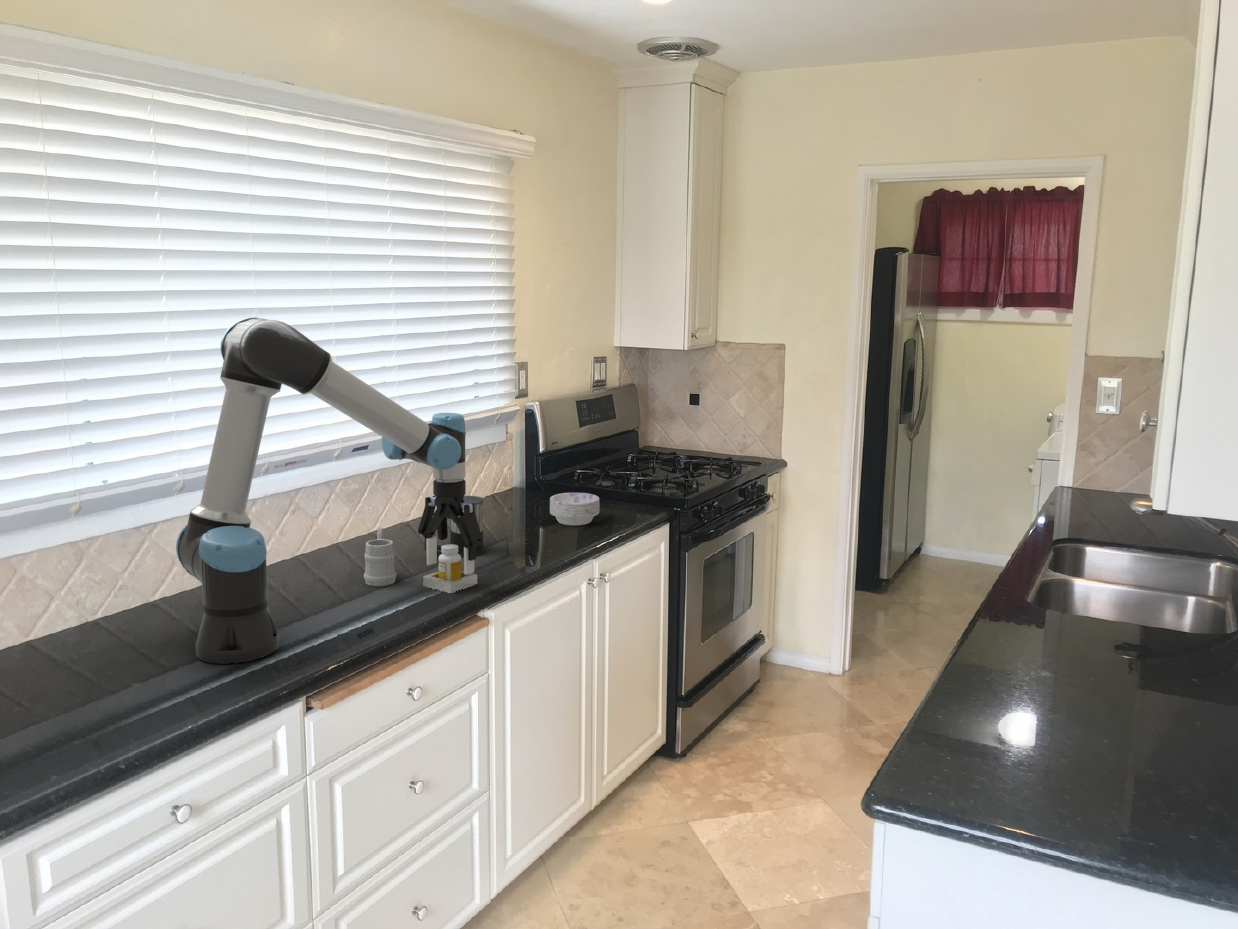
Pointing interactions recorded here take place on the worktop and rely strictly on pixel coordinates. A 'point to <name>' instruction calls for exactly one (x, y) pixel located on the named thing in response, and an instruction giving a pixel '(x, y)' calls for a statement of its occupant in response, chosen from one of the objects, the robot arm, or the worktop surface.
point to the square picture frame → (449, 582)
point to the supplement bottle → (449, 563)
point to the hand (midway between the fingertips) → (450, 568)
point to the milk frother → (455, 533)
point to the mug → (379, 561)
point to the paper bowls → (574, 508)
